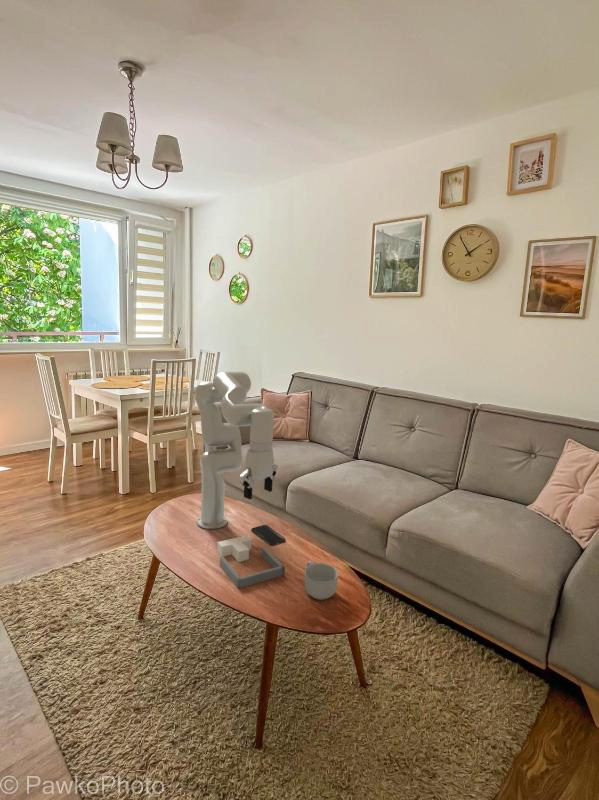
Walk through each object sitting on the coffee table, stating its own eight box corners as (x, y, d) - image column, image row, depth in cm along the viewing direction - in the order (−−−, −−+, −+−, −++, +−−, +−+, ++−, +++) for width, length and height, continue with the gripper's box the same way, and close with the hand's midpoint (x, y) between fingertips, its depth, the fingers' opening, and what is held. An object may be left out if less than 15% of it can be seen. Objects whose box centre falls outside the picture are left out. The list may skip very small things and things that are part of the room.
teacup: (341, 602, 140) (343, 579, 138) (308, 606, 137) (310, 582, 135) (326, 577, 153) (328, 556, 151) (296, 580, 150) (297, 558, 148)
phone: (265, 524, 187) (286, 539, 176) (265, 526, 188) (286, 541, 176) (249, 528, 183) (270, 544, 171) (249, 531, 183) (269, 547, 171)
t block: (217, 551, 164) (217, 541, 164) (246, 545, 171) (246, 535, 170) (228, 564, 156) (228, 554, 156) (258, 556, 163) (258, 546, 162)
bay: (219, 565, 156) (220, 557, 155) (263, 554, 165) (264, 546, 164) (238, 588, 143) (238, 580, 143) (284, 575, 152) (284, 567, 152)
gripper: (270, 438, 155) (267, 484, 158) (233, 447, 142) (231, 497, 145) (286, 443, 151) (283, 491, 154) (250, 453, 137) (247, 504, 140)
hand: (258, 494), depth 149 cm, fingers open, 9 cm apart
